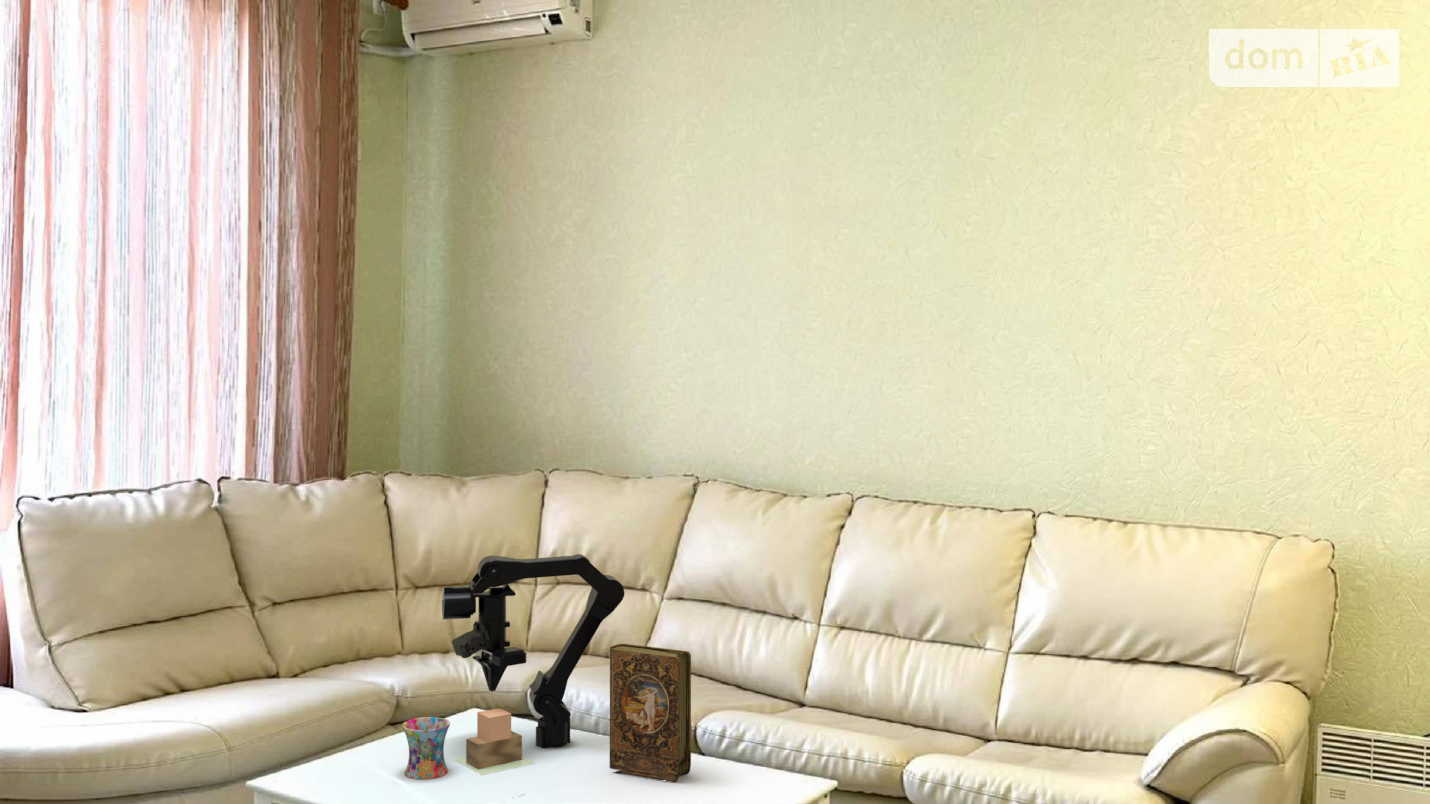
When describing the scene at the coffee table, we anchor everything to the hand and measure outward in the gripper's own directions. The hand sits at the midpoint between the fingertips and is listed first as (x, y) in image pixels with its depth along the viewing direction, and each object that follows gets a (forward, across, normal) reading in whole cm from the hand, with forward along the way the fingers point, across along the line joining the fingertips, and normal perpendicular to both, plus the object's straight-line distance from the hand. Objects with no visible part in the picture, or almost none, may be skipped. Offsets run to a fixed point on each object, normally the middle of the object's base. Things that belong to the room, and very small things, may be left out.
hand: (492, 690), depth 277 cm
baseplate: (+13, +8, -4) cm, 16 cm away
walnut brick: (+12, +8, -4) cm, 15 cm away
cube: (+7, +8, -4) cm, 11 cm away
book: (+13, +31, +18) cm, 38 cm away
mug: (+13, +5, -17) cm, 22 cm away
